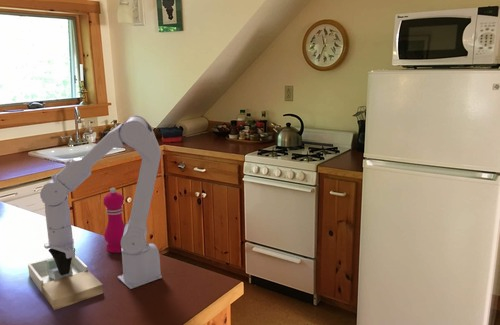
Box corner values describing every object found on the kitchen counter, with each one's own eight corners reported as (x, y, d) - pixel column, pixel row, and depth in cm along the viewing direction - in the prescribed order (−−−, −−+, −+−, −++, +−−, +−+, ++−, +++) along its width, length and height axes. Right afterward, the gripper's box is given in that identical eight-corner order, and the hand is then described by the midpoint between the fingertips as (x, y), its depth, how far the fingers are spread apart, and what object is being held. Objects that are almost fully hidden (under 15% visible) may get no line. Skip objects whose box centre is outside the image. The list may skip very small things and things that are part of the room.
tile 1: (68, 272, 121) (65, 271, 123) (65, 256, 120) (62, 255, 122) (51, 277, 118) (48, 276, 120) (48, 261, 118) (45, 260, 120)
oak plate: (88, 278, 120) (87, 270, 119) (103, 293, 112) (102, 284, 112) (42, 293, 112) (41, 284, 112) (54, 310, 105) (53, 300, 104)
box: (73, 262, 129) (72, 251, 128) (88, 278, 120) (87, 266, 119) (29, 275, 121) (27, 264, 120) (42, 293, 112) (40, 280, 111)
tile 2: (67, 272, 121) (66, 263, 121) (73, 274, 117) (71, 266, 117) (50, 277, 118) (49, 268, 118) (55, 280, 114) (53, 271, 114)
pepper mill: (120, 241, 143) (116, 183, 138) (134, 247, 139) (129, 187, 134) (100, 249, 138) (95, 188, 133) (114, 255, 133) (109, 193, 128)
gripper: (34, 220, 115) (40, 268, 118) (51, 238, 104) (57, 289, 107) (62, 214, 119) (67, 260, 123) (81, 230, 109) (86, 280, 112)
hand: (64, 273), depth 115 cm, fingers closed
